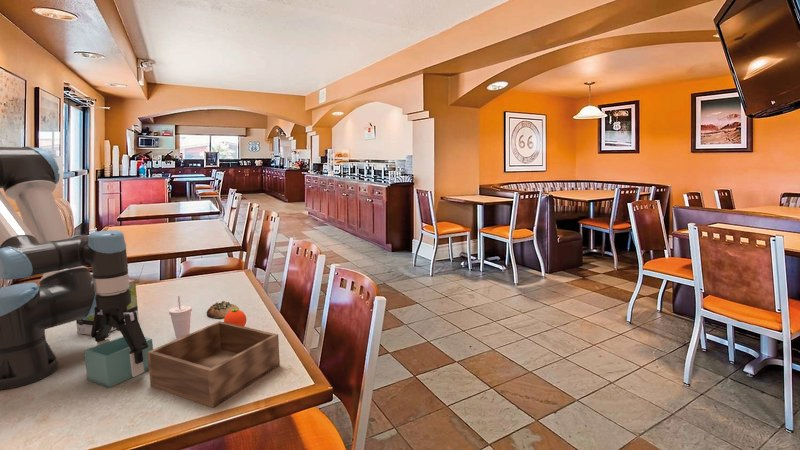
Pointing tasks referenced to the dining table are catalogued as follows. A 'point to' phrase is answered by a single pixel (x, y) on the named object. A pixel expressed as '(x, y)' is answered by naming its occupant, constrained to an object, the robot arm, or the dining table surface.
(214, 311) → the bread roll
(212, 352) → the walnut crate
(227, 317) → the clementine
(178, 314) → the smoothie
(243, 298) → the dining table surface
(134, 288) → the tea box
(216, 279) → the dining table surface
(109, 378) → the teal crate
